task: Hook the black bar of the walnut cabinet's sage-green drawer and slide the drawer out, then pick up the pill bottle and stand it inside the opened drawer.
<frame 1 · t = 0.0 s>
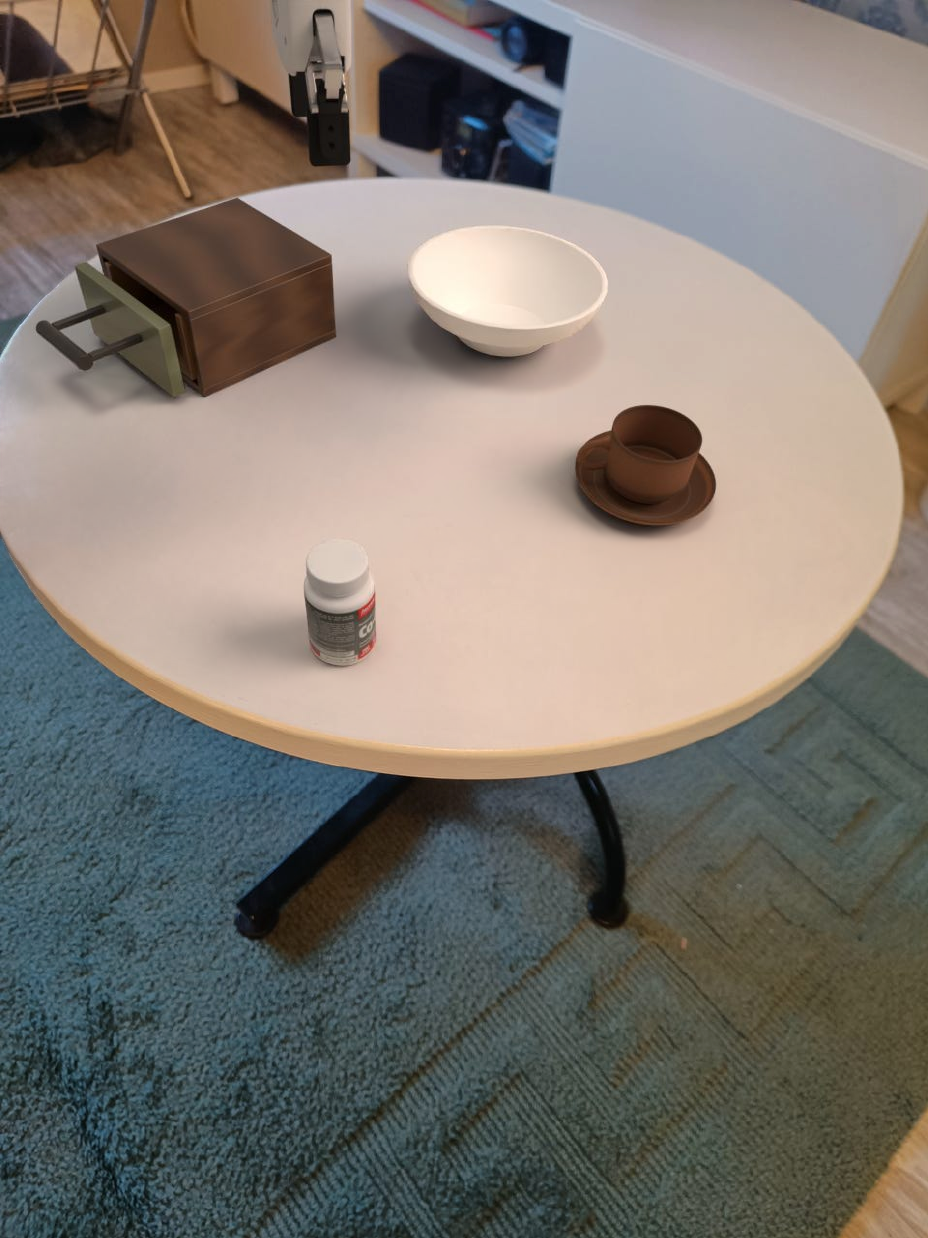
hand: (320, 138, 72), 19 cm above the table, tool pointing down, fingers open, 9 cm apart
bowl: (500, 337, 89), on the table
cup and saucer: (640, 491, 75), on the table
pill bottle: (343, 643, 62), on the table
cabinet: (228, 332, 86), on the table
drawer: (164, 315, 80), point 4 cm above the table, slide at 1.5 cm
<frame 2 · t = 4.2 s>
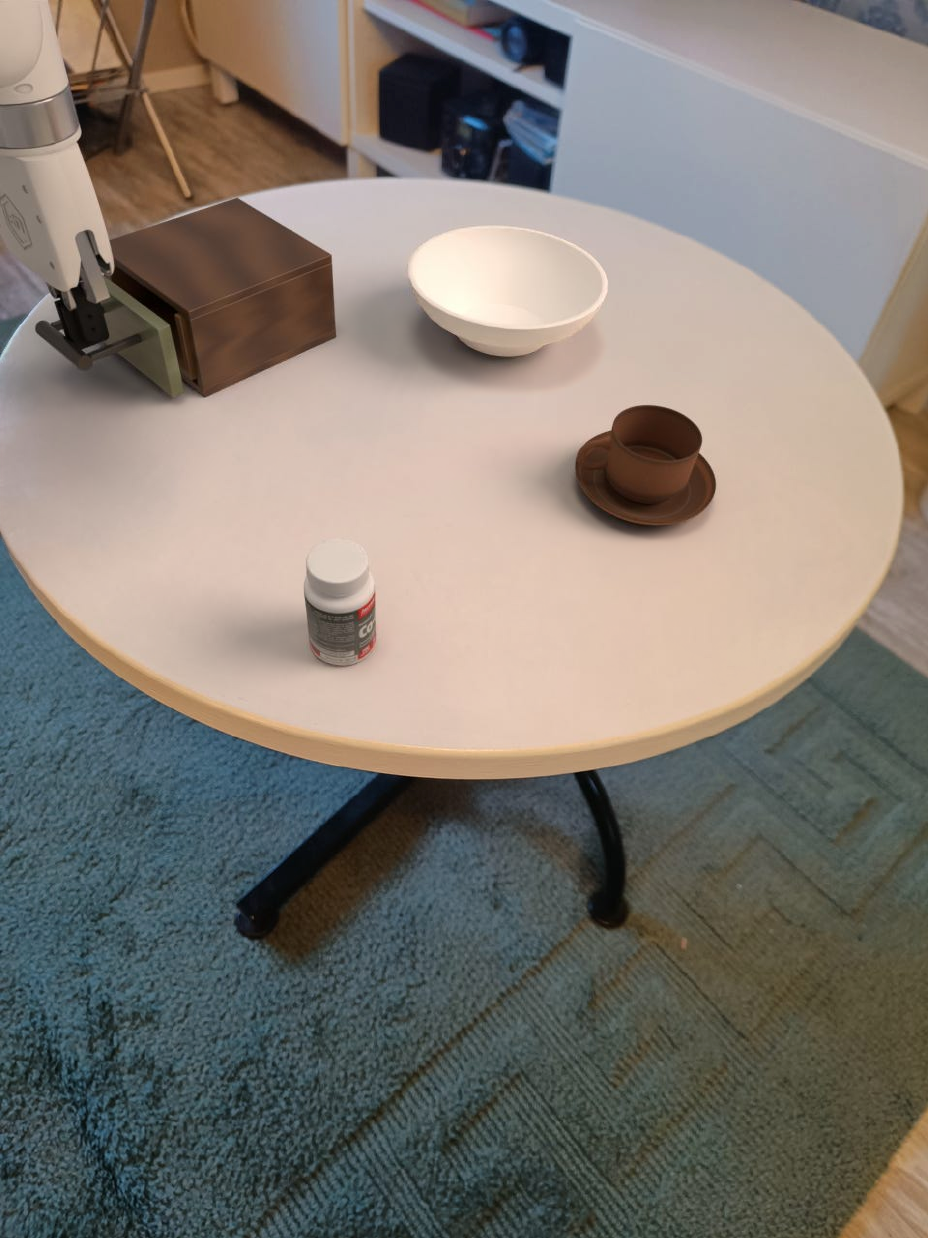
hand: (89, 340, 76), 5 cm above the table, tool pointing down, fingers closed
drawer: (163, 315, 80), point 4 cm above the table, slide at 1.6 cm, touching gripper
everything else where it was.
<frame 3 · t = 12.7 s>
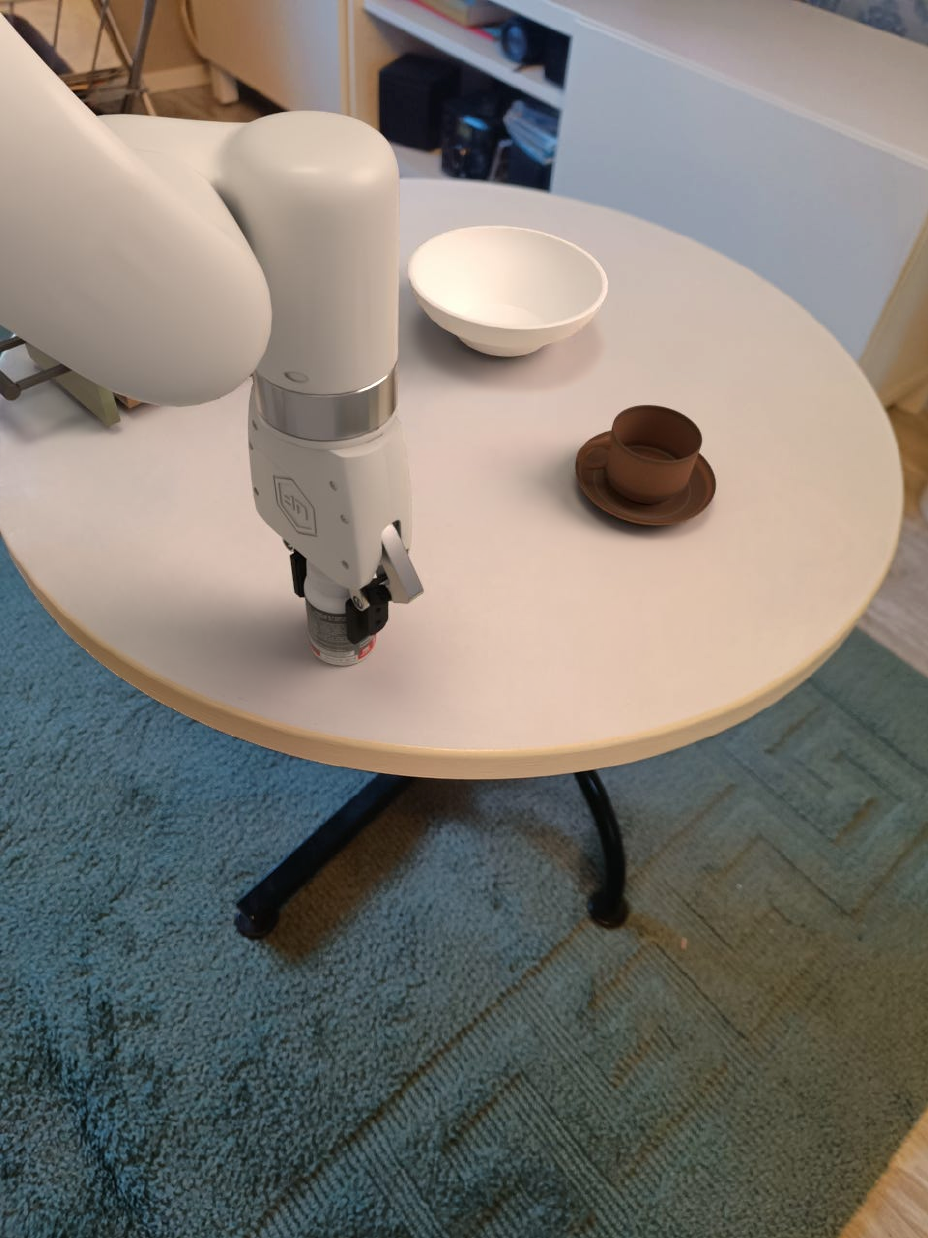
hand: (341, 606, 59), 4 cm above the table, tool pointing down, fingers closed on pill bottle, 4 cm apart
pill bottle: (343, 642, 62), on the table, touching gripper
drawer: (100, 340, 77), point 4 cm above the table, slide at 8.0 cm
everything else where it was.
when the fingers open (6 cm above the table, at t = 23.0 s): pill bottle stays where it is, resting on drawer.
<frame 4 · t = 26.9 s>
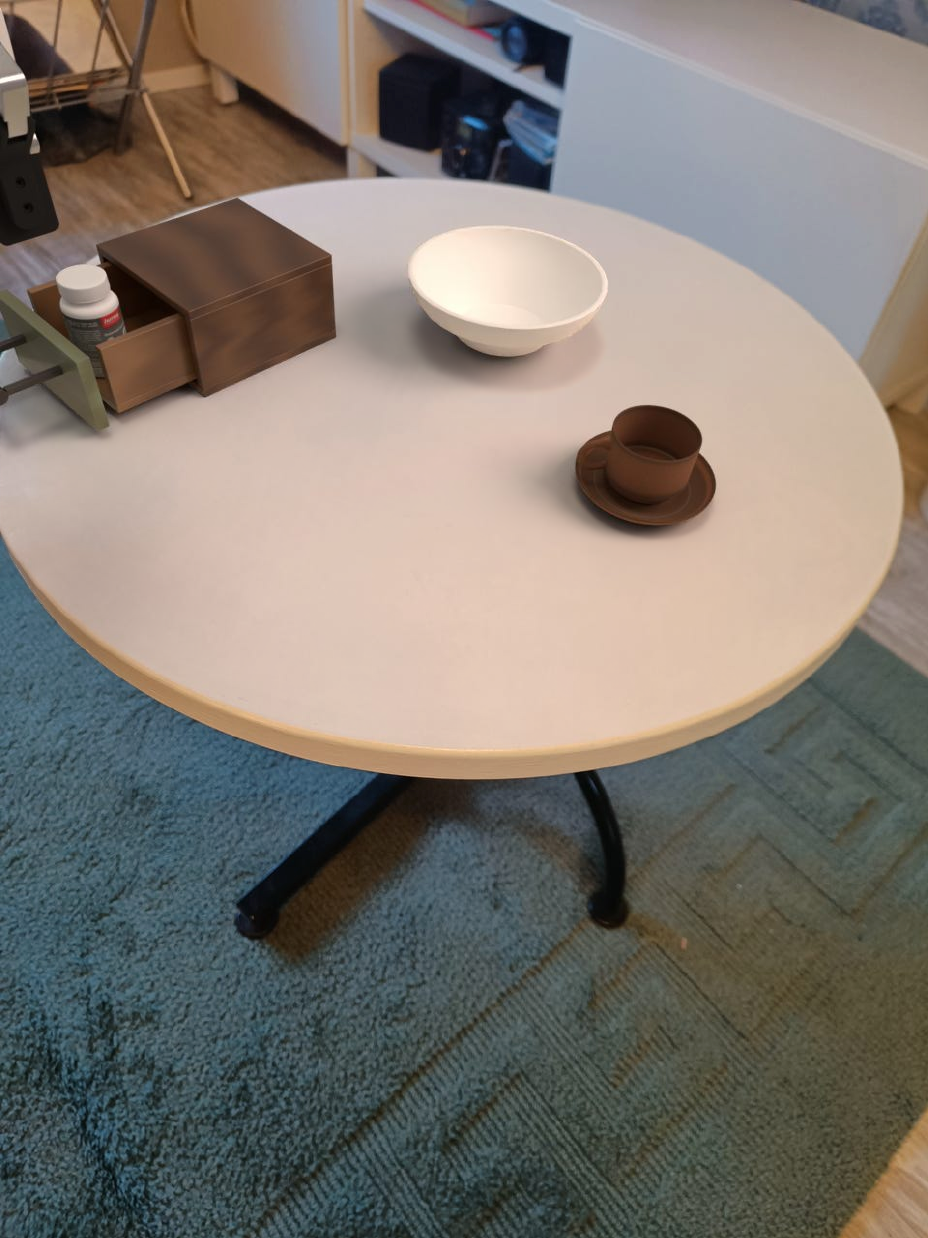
pill bottle: (107, 365, 78), point 2 cm above the table, touching drawer
drawer: (89, 344, 76), point 4 cm above the table, slide at 9.0 cm, touching pill bottle
everything else where it was.
at the end: drawer slide at 9.0 cm; pill bottle inside the target area in the drawer (1.0 cm from its centre), point 1.8 cm above the cabinet's base; pill bottle tilted 0° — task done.
